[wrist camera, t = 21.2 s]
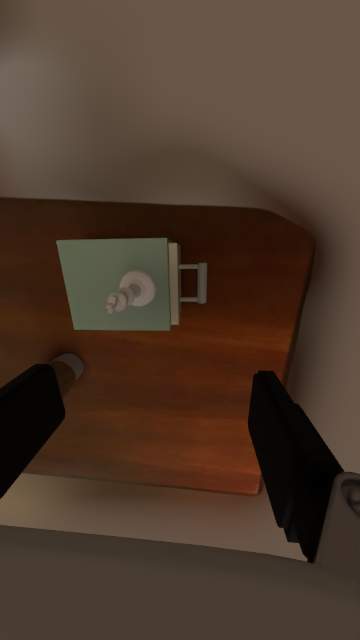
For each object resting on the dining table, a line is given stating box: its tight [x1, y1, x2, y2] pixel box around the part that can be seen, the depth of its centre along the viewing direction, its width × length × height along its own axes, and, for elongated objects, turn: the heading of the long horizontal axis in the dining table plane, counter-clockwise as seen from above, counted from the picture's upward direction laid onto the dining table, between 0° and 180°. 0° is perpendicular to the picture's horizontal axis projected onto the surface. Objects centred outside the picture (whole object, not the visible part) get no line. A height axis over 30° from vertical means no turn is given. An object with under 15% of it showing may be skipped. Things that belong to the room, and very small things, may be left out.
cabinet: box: [56, 238, 174, 330], centre depth 32 cm, size 15×13×10 cm
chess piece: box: [106, 270, 156, 314], centre depth 22 cm, size 5×5×10 cm
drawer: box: [168, 243, 207, 325], centre depth 32 cm, size 18×11×8 cm, turn 91°
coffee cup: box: [47, 353, 84, 399], centre depth 36 cm, size 8×8×15 cm
